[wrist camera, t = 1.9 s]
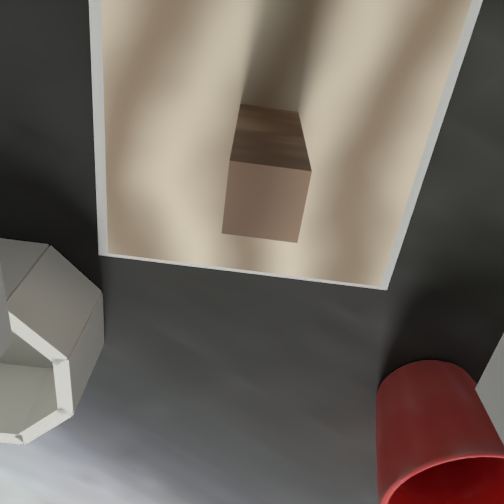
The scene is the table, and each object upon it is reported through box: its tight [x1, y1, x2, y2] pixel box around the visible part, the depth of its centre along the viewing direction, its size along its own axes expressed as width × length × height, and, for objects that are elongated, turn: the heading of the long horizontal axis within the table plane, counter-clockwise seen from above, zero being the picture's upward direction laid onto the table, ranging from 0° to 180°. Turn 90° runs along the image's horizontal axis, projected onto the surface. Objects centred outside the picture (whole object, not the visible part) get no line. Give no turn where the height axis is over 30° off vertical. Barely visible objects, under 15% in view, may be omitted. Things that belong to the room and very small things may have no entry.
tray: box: [89, 0, 483, 290], centre depth 28 cm, size 20×20×1 cm
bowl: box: [0, 238, 104, 445], centre depth 33 cm, size 12×12×7 cm
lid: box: [101, 0, 472, 286], centre depth 24 cm, size 18×18×10 cm
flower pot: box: [376, 360, 504, 504], centre depth 35 cm, size 11×11×10 cm
